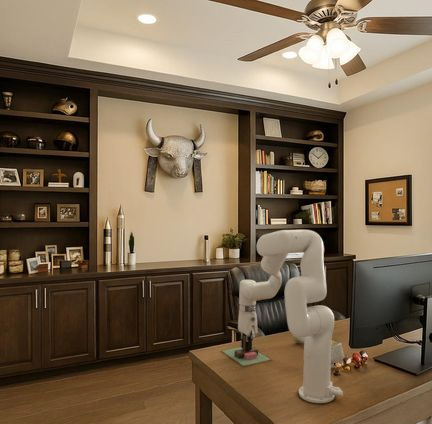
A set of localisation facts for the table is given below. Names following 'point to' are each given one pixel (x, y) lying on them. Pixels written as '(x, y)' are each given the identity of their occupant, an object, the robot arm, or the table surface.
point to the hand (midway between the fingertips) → (246, 348)
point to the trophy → (302, 340)
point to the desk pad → (243, 361)
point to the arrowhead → (337, 355)
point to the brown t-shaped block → (240, 352)
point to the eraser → (250, 355)
